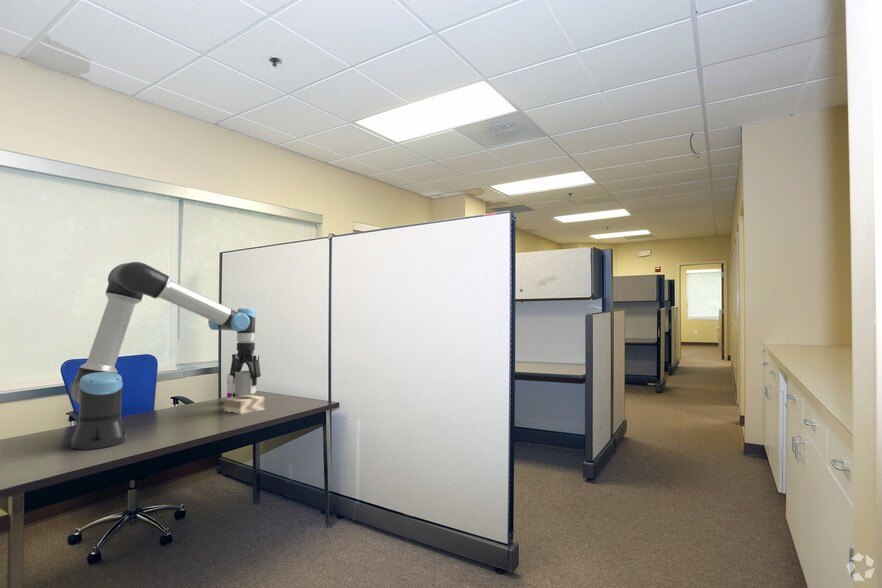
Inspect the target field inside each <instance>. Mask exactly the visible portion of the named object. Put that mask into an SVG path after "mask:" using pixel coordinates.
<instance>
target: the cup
mask: <svg viewBox="0 0 882 588" xmlns="http://www.w3.org/2000/svg"><path fill="white" fill-rule="evenodd" d="M250 379H251V375H250V371H249V370H241V371H240V372H235V395H237V396H247V395H256V394H255V393H256V392H255V393H250Z"/></svg>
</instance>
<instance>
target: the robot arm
mask: <svg viewBox="0 0 882 588" xmlns="http://www.w3.org/2000/svg"><path fill="white" fill-rule="evenodd" d="M107 281H108V282H107V283H108V285H107V288H106V291H105V296H106V297H107V302H106V306H105V309H104V311H103V314H102V317H101V319H100V322H99V326H98V329H97V330H96V331H97V332H96V334H95V338H94V340H93V343H92V346H91V348H90V352H89V353H88V358H87V359H86V360H87V361H86V362H85V363H83V364H81V365H80V366H79V367H78V370H77V372H76V376H75V377H74V378H73V380H72V381H71V383H70V385H69V389H68V391H69V395H70V397H71V400H72V401H73V402H74V403H76V404H77V405H79V406H78V423H77V426H76V427H75V428H76V429H75V431H74V434H73V436H72V438H71V445H70V447H71V448H72V447H73V448H77V449H76V450H95V449H102V448H108V447H112V446H116V445H119V444H122V443H124V442H125V441H127V436H128V434H127V431H126V430H127V429H126V427H125V425H124V423H123V419H122V402H123V401H122V400H123V399H122V397H123V395H122V394H123V386H124V383H123V378H122V376H121V375H120V374H119V373H118V372H119V371H118V370H117V368H116V367H115V366H116V363H117V360H118V359H119V358H118V357H119V354H120V351H121V349H122V345H123V342H124V339H125V336H126V333H127V330H128V327H129V324H130V321H131V318H132V315H133V313H134V309H135V306H136V305H137V304H140V303H141V302H142V300H143V298H144V295H145V296H148V297H151V298H153V299H162V300H164V301H167V302H168V303H171V304H173V305H176V306H178V307H180V308H181V309H185V310H187V311H189V312H191V313H193V314H196V315H199V316H201V318H202V317H203V318H204V319H207V320H208V327H209V329H210V330H212V331H223V330H224V331H234V332H236V342H237V343H236V351H237V353H233V354H232V355H231V365H230V371H229V372H230V376H233V377H234V381H233V383H234V392H235V372H240V371H242V368H243V366H244V365H247V368H248V371H250V375H251V379H250V393H256V388H257V387H256V386H257V384H258V383H257V380H258V378H260V377H261V369H260V368H261V366H260V354H255V353H254V351H255V350H256V349H255V348H256V343H255V340H256V337H255V336H256V310H255V308H253V307H252V308H250V307H249V308H245V307H244V308H242V307H241V308H240V307H239V308H238V309H237V311H235V310H234V309H231V308H229V307H228V306H225V305H224V304H221V303H219V302H217V301H215V300H213V299H211V298H209V297H207V296H204V295H202V294H200V293H198V292H196V291H195V290H192V289H190V288H188V287H186V286H184V285H182V284H179V283H178V282H176V281H173V280H172V279H171V277H170V276H169V275H168V274H165V273H163V272H162V271H160V270H158V269H156V268H154V267H152V266H151V265H148V264H146V263H144V262H142V261H141V262H139V261H131V262H127V263H126V262H124V263H121V264H118V265H117V266H115V267H114V268H113V269H112V270H111V271H110V272H109V273H108V276H107ZM73 448H72V449H73Z"/></svg>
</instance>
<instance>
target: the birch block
mask: <svg viewBox="0 0 882 588" xmlns="http://www.w3.org/2000/svg"><path fill="white" fill-rule="evenodd" d="M265 399H266V398H265V396H259V395H256V394H253V395H247V396H236V397H230V398H227V397H226V398H224V412H226V411H228V412H227V413H230V412H234V413H233V414H235V413H239V414H242V415H244V414H243V413H247V412H251V413H255V412H254V411H256V412H260V411H259V410H261V411H264V410H265ZM239 414H238V415H239ZM247 414H248V413H247Z"/></svg>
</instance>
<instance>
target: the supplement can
mask: <svg viewBox="0 0 882 588" xmlns="http://www.w3.org/2000/svg"><path fill="white" fill-rule="evenodd" d="M226 381H227V383H226V385H227V386H226V398H230V397H236V396H237V395H235V392H234V383H233V381H234V377H233V376H230V371H229V372H228V374H227V379H226Z"/></svg>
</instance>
